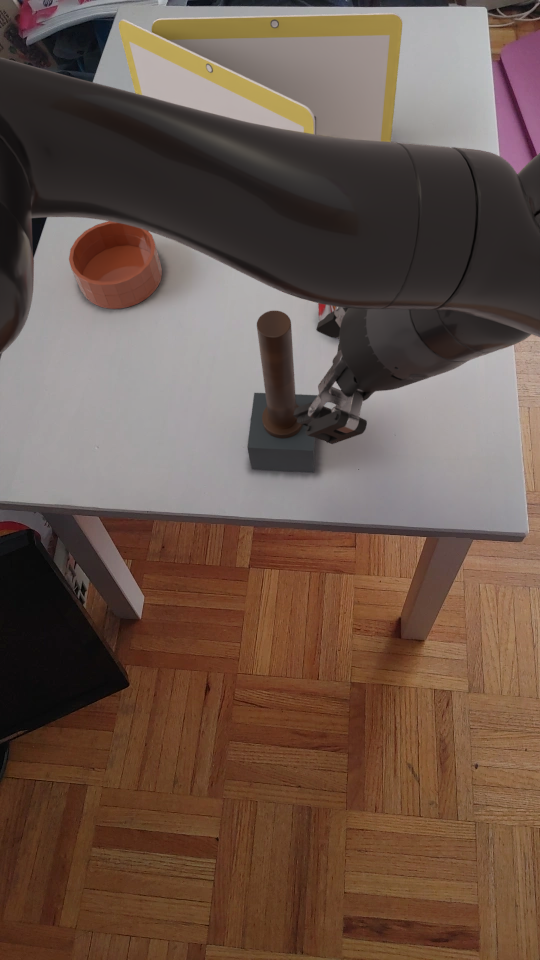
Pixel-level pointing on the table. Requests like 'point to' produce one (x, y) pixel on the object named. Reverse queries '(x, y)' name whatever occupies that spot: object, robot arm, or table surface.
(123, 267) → the bowl
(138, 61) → the tablet
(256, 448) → the stand
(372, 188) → the robot arm
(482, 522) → the table surface
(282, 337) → the brown tall cylinder
